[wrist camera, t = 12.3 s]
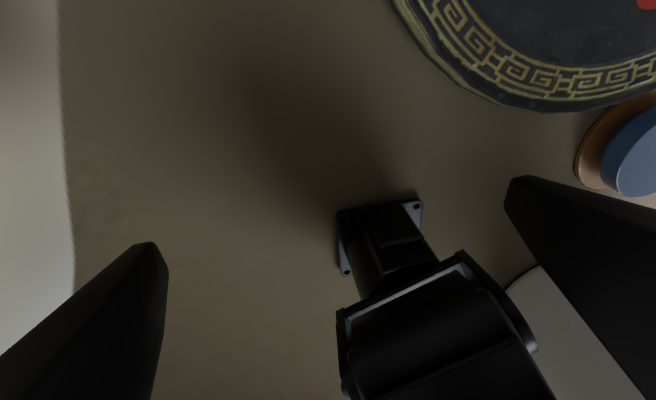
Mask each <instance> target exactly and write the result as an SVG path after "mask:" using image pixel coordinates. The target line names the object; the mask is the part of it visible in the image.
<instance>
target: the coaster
mask: <svg viewBox="0 0 656 400" xmlns="http://www.w3.org/2000/svg"><path fill="white" fill-rule="evenodd" d="M653 106H656V89H653V90H651V91H648V92H646V93H644V94H641V95H639V96H636V97H634V98H632V99H629V100H627V101H624V102H622V103H618V104H614V105H612V106H611V107H610V108H609V109H608V110H607V111H606V112H604V113H603V114H602V116H601V117H600V118H599V119H598V120H597V121H596V122H595V123H594V125H593V126H592V127H591V128H590V130H589V131H588V133H587V134H586V136H585V137H584V139H583V141H582V143H581V145H580V147H579V149H578V152H577V155H576V160H575V173H576V176H577V178H578V180H579V181H580V182H581V183H582V184H584V185H585V186H587V187H589V188H591V189H596V190H605V189H611V188H609V187H608V186H606V185H605V184H604V183H603V182H602V180H601V178H600V165H601V161H602V155H603V151H604V148H605V146H606V144H607V142H608V141H609V139H610V138H611V137H612V135H613V134H614V133H615V132H616V131H617V130H618V129H619V128H620V127H621V126H622V125H623V124H624V123H626V122H627V121H628V120H630V119H631V118H633V117H635V116H637V115H639V114H641V113H643V112H644V111H646V110H648V109H650V108H651V107H653Z"/></svg>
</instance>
